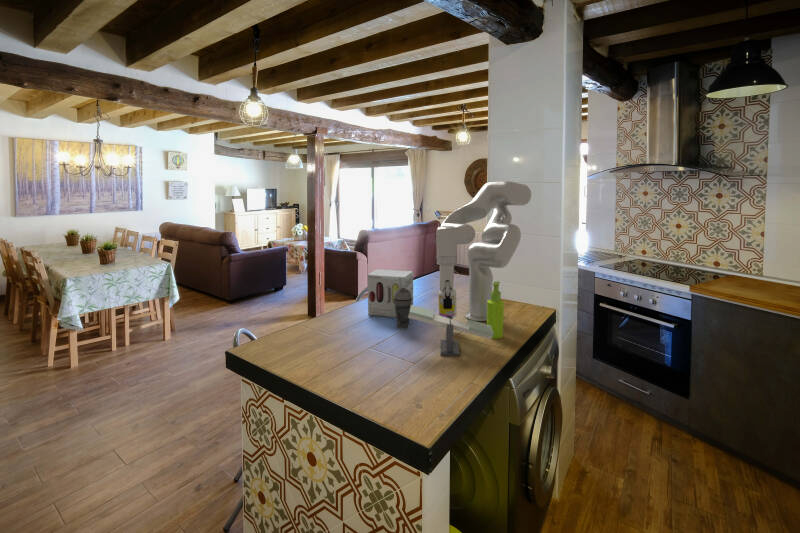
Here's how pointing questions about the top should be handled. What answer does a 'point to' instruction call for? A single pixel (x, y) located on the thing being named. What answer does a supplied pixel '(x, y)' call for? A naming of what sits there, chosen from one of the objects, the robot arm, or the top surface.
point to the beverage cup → (402, 306)
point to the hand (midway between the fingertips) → (447, 305)
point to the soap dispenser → (495, 312)
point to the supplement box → (386, 290)
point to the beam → (451, 322)
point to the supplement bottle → (447, 312)
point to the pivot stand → (449, 343)
